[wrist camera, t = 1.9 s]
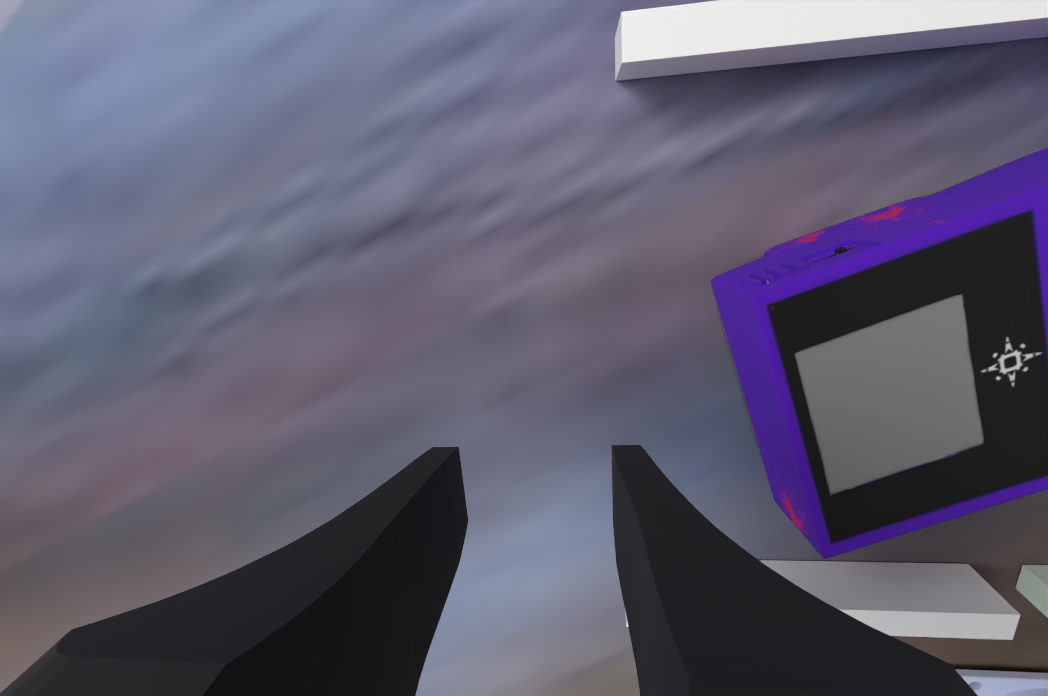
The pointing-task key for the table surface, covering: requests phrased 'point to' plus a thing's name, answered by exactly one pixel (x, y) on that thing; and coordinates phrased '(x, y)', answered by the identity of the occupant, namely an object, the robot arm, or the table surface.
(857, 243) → the handheld gaming console
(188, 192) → the table surface
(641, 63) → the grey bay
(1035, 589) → the sage corral
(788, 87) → the table surface
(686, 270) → the table surface
